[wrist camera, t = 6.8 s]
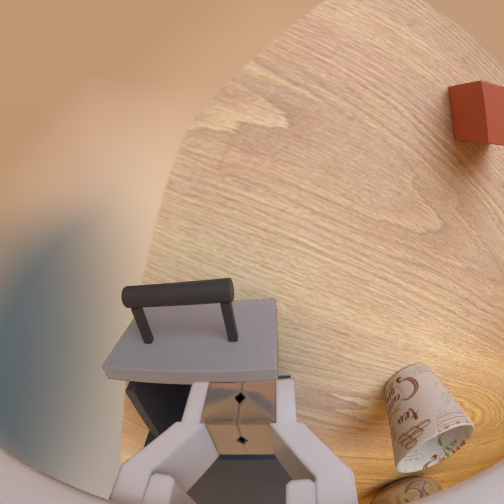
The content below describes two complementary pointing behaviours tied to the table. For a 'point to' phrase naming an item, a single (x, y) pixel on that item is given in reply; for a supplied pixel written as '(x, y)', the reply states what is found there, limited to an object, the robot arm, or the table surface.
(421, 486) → the ceramic bowl
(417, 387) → the mug
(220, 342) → the drawer
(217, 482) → the cabinet
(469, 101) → the block
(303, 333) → the table surface
